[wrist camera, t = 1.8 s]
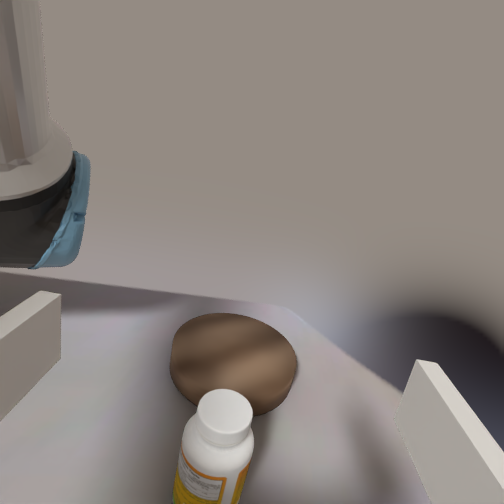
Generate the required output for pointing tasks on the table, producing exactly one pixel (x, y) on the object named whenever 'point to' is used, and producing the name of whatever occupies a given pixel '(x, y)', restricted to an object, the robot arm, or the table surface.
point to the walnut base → (232, 360)
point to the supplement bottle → (215, 450)
